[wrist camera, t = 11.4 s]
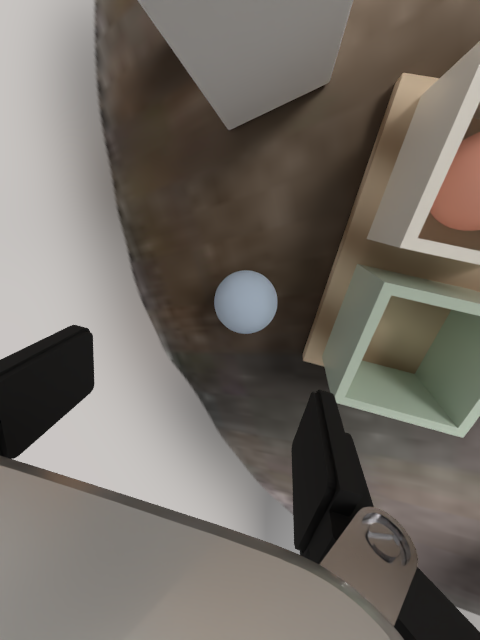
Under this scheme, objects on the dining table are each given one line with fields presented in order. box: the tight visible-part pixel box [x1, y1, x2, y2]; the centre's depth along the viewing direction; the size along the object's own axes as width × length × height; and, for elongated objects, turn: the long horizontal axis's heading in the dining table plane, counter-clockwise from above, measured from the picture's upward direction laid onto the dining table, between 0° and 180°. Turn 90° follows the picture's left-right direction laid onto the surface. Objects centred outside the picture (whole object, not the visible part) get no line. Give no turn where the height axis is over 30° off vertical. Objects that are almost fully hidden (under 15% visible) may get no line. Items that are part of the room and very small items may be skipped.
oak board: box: [303, 73, 480, 374], centre depth 19 cm, size 20×11×1 cm, turn 169°
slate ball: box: [214, 270, 278, 334], centre depth 20 cm, size 5×5×5 cm
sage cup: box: [322, 264, 480, 438], centre depth 17 cm, size 8×8×6 cm
